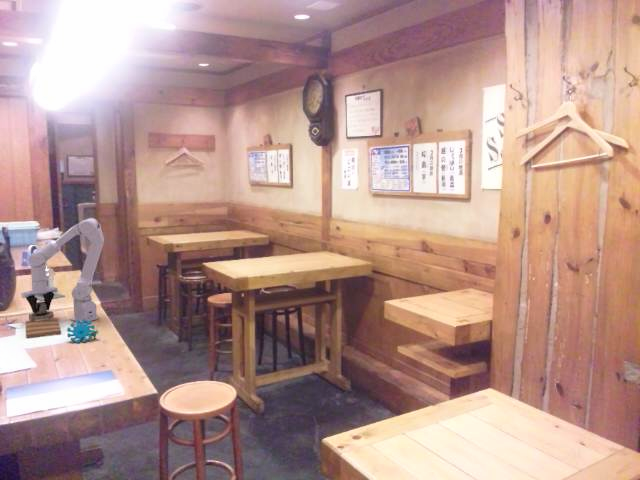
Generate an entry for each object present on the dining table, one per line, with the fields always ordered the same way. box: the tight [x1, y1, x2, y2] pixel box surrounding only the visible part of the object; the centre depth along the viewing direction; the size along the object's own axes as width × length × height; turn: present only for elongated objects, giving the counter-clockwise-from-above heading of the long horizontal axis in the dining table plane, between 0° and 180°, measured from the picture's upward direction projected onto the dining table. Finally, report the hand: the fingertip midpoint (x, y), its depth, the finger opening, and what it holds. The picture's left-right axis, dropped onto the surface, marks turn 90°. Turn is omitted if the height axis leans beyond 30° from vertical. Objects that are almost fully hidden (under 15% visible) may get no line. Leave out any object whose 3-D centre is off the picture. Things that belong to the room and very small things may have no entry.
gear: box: [66, 319, 99, 344], centre depth 207 cm, size 11×6×10 cm
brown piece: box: [25, 310, 62, 339], centre depth 223 cm, size 29×12×3 cm, turn 29°
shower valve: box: [35, 286, 66, 302], centre depth 273 cm, size 12×6×15 cm
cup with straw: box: [46, 261, 56, 288], centre depth 280 cm, size 8×9×20 cm
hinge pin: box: [36, 301, 48, 316], centre depth 231 cm, size 4×4×8 cm
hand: (41, 311), depth 231 cm, fingers open, 5 cm apart
